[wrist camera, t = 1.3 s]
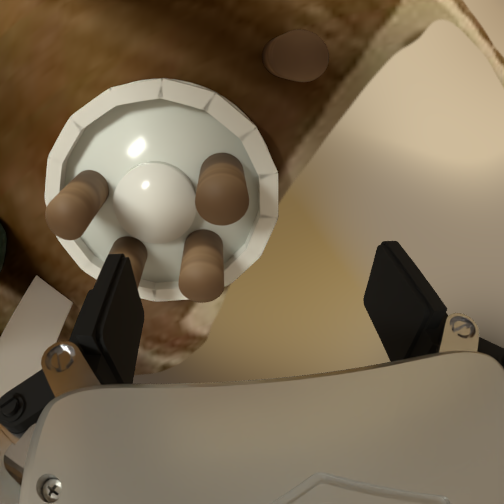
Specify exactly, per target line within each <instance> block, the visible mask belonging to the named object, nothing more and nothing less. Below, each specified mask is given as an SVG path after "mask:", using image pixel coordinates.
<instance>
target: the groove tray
mask: <svg viewBox="0 0 504 504" xmlns="http://www.w3.org/2000/svg"><path fill="white" fill-rule="evenodd" d="M216 153H229V154H231V155H233V156H235V157H236V158H237V159H238V160H239V161H240V162H241V164H242V166H243V170H244V175H245V180H246V185H247V190H248V195H249V206H248V209H247V212H246V213H245V215H244V216H243V217H242V218H241V219H240V220H238V221H237V222H235V223H233V224H230V225H225V226H219V225H214V224H211V223H209V222H207V221H205V220H204V219H203V218H202V217H201V216H200V215H199V213H198V212H197V209H196V206H195V196H196V191H197V185H198V179H199V174H200V169H201V166H202V164H203V162H204V161H205V160H206V159H207V158H208V157H209V156H211V155H213V154H216ZM85 170H94V171H96V172H98V173H100V174H101V175H102V176H103V177H104V178H105V179H106V181H107V183H108V186H109V195H108V198H107V200H106V201H105V203H104V204H103V205H102V207H101V208H100V210H99V211H98V213H97V214H96V216H95V217H94V219H93V220H92V221H91V223H90V224H89V226H88V227H87V229H86V231H85V232H84V234H83V235H82V236H81V237H80V238H78V239H75V240H64V239H62V238H59V237H58V236H57V238H58V240H59V242H60V243H61V244H62V246H63V247H64V248H65V249H66V251H67V252H68V253H69V254H70V256H71V257H72V258H73V259H74V261H75V262H76V263H77V264H78V265H79V267H80V268H81V269H82V270H83V269H84V270H83V271H84V272H86V273H87V274H89V275H90V276H92V277H94V278H95V279H97V278H98V275H99V273H100V271H101V269H102V267H103V264H104V262H105V260H106V258H107V256H108V254H109V252H110V250H111V248H112V246H113V244H114V242H115V241H116V240H117V239H118V238H120V237H124V236H130V237H134V238H137V239H138V240H140V241H141V242H142V243H143V244H144V245H145V247H146V249H147V254H148V255H147V260H146V263H145V266H144V270H143V273H142V276H141V280H140V283H139V287H138V292H139V296H140V298H142V299H146V300H150V301H154V300H155V302H156V301H173V300H189V299H187V298H186V297H185V296H184V295H183V294H182V293H181V292H180V290H179V286H178V281H179V275H180V268H181V262H182V255H183V249H184V243H185V240H186V238H187V236H188V235H189V234H190V233H192V232H193V231H196V230H200V229H207V230H211V231H213V232H215V233H216V234H218V235H219V236H220V238H221V239H222V242H223V260H224V287H225V286H228V285H230V284H231V283H233V282H234V281H235V280H236V279H237V278H238V277H239V276H240V275H241V274H242V273H244V272H245V271H246V270H247V269H248V268H249V267H250V266H251V265H252V264H253V263H254V262H256V261H257V260H258V259H259V258H260V256H261V255H262V253H263V250H264V248H265V246H266V244H267V242H268V240H269V237H270V235H271V233H272V231H273V229H274V226H275V224H276V222H277V220H278V171H277V169H276V167H275V165H274V163H273V160H272V158H271V155H270V153H269V150H268V147H267V145H266V143H265V142H264V140H263V138H262V136H261V134H260V133H259V131H258V129H257V127H256V125H255V124H254V123H253V122H252V121H251V120H250V119H249V118H248V116H246V115H245V114H244V113H243V112H242V111H241V110H240V109H239V108H238V107H237V106H236V105H235V104H233V103H232V102H231V101H229V100H228V99H226V98H225V97H224V96H222V95H220V94H218V93H217V92H215V91H213V90H211V89H209V88H206V87H204V86H201V85H198V84H195V83H192V82H187V81H182V80H177V79H168V78H157V79H147V80H140V81H136V82H132V83H128V84H124V85H120V86H115V87H112V88H109V89H108V90H106V91H105V92H103V93H102V94H100V95H99V96H97V97H96V98H95V99H93V100H92V101H90V102H89V103H88V104H86V105H85V106H84V107H82V108H81V109H80V110H78V111H77V112H76V113H74V114H73V115H72V116H71V117H70V118H69V119H68V121H67V123H66V124H65V126H64V128H63V130H62V132H61V133H60V135H59V137H58V139H57V141H56V143H55V144H54V146H53V148H52V150H51V152H50V154H49V156H48V161H47V172H46V185H45V199H46V200H45V203H46V206H47V205H48V204H49V202H50V201H51V200H52V199H53V198H54V197H55V196H56V195H57V194H58V193H59V192H60V191H61V190H62V189H63V188H64V187H65V186H66V185H67V184H68V183H69V182H70V181H71V180H72V179H74V178H75V177H76V176H77V175H78V174H79V173H80V172H82V171H85Z"/></svg>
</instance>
